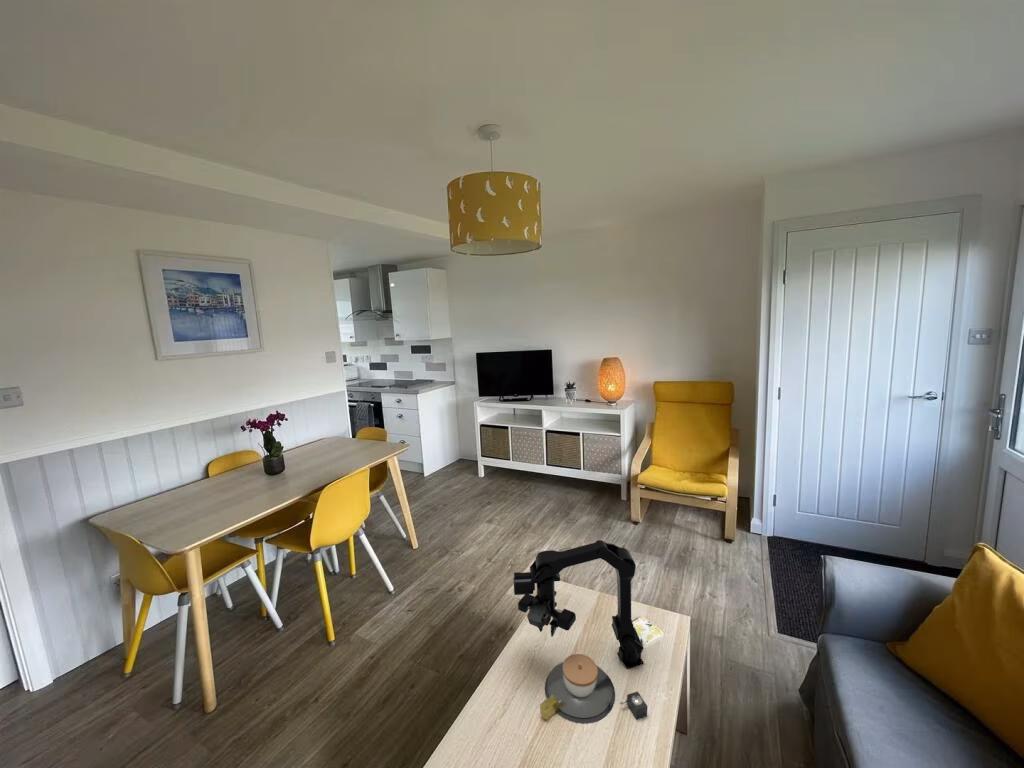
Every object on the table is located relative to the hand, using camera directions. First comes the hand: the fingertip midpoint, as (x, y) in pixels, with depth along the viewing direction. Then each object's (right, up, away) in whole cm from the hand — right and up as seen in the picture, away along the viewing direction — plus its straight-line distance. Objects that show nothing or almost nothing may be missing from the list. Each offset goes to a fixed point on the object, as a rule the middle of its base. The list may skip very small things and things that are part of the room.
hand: (546, 633), depth 141 cm
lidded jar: (+10, -13, -7) cm, 18 cm away
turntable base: (+10, -13, -7) cm, 18 cm away
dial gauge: (+24, -14, -15) cm, 32 cm away
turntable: (+8, -13, -9) cm, 18 cm away
